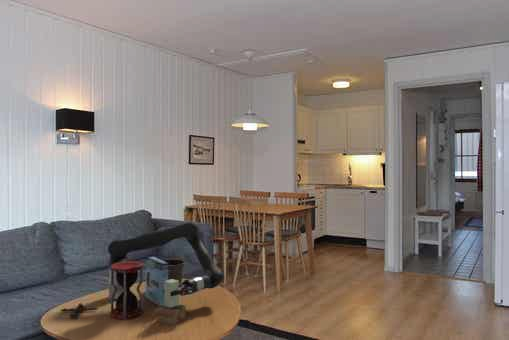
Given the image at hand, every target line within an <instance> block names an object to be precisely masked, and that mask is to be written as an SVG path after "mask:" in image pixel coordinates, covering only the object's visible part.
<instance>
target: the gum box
mask: <svg viewBox="0 0 509 340" xmlns="http://www.w3.org/2000/svg"><path fill="white" fill-rule="evenodd" d="M145 262H146V263H145V294H144V295H145V298H146V299H147V300H149V301H151V302H152V303H154V304H155V305H157V306H158V307H160V306H161V307H162V306H164V294H163V290H164V281H167V280H168V264H169V263H167V262H164V261H162V260H161V259H160V258H157V257H155V256H148V257H146V258H145Z"/></svg>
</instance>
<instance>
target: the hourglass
mask: <svg viewBox="0 0 509 340" xmlns="http://www.w3.org/2000/svg"><path fill="white" fill-rule="evenodd" d="M143 268H144V263H142V262H140V261H127V262H119V263H115V264H112V265H111V266H110V270H111V284H112V286H113V287H114V293H113V294H112V296H111V300H110V312H109V316H110V317H111V318H112V319H115V320H131V319H135V318H137V317H140V316H141V315H143V313H144V308H143V294H142V292H141V290H140V288H141V285H142V284H143V280H144V279H143V277H144V275H143V273H144V272H143V271H144V269H143ZM114 271H115V272H116V280H117V282H118V283H119V284H120V285H121V286H122V287H123V288H124V291H123V292H122V293H121V294H120V295H119V297H118V298H117V300H115V301H116V302H115V308H114V300H113V297H114V295H115V294H116V292H117V287H116V286H115V285H114V282H113V278H114ZM139 271H140V272H139ZM139 275H140V276H139ZM138 277H139V278H140V279H139V280H140V281H139V283H138V284H137V285H136V291H137V293H138V294H139V295H138V296H139V302H138V297H137V296H136V295H135V293H133V291H132V290H131V288H132V287H133V285H134V284H135V283H136V282H137V280H138ZM138 303H139V304H138Z"/></svg>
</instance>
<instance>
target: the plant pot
mask: <svg viewBox="0 0 509 340" xmlns="http://www.w3.org/2000/svg"><path fill="white" fill-rule="evenodd" d="M162 261H164V262H167V263H169V264H168V280H171V279H174V280H178V281H179V284H182V283H183V275H184V274H183V273H184V272H183V271H184V266H185V263H186V261H185V260H183V259H177V258H171V259H164V260H162Z"/></svg>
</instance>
